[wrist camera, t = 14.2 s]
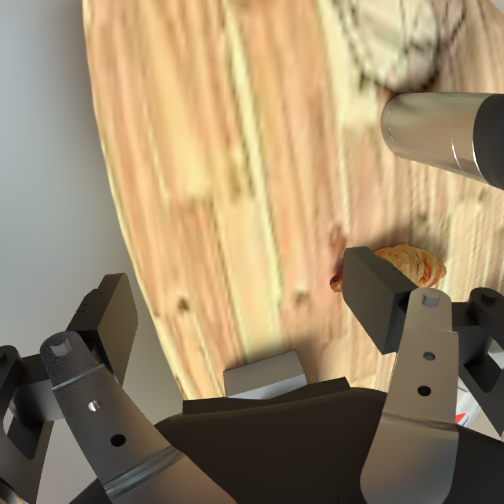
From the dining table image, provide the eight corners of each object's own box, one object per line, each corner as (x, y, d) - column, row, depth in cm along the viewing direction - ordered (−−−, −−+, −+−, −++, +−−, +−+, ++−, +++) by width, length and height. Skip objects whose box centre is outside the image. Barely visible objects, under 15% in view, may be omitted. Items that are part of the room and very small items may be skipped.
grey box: (294, 348, 50) (304, 373, 44) (307, 393, 55) (316, 417, 49) (222, 370, 50) (225, 397, 44) (244, 412, 54) (249, 437, 49)
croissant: (430, 241, 50) (460, 235, 42) (436, 299, 49) (466, 301, 41) (318, 252, 47) (338, 246, 39) (324, 320, 46) (346, 327, 38)
